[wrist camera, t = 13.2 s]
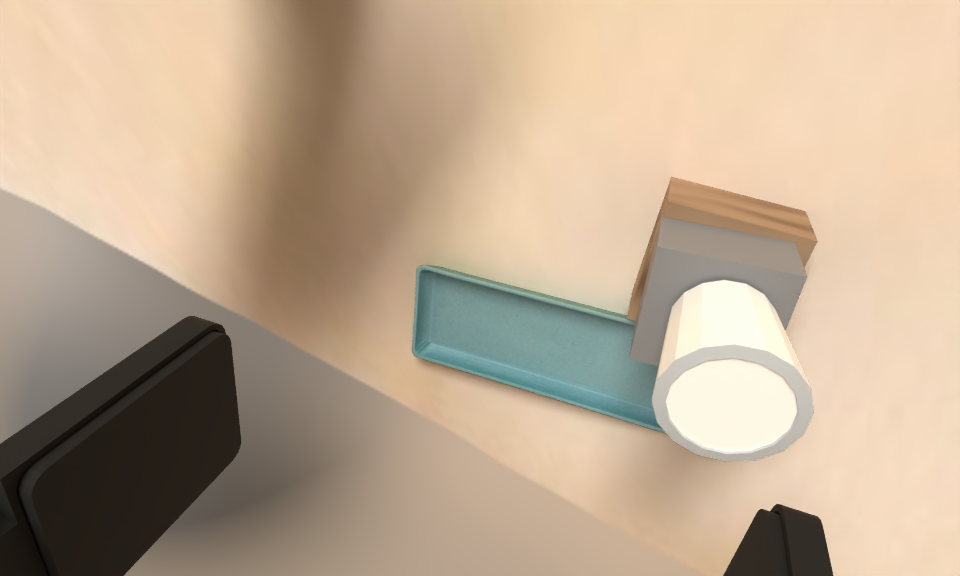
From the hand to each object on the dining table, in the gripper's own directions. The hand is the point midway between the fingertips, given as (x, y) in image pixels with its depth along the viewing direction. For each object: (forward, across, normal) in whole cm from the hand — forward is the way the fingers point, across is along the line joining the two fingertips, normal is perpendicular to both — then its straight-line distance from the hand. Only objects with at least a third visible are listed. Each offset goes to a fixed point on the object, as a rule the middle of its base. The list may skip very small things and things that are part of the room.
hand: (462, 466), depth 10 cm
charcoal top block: (+28, -7, +9) cm, 31 cm away
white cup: (+24, -8, +9) cm, 27 cm away
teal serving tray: (+34, 0, +19) cm, 39 cm away
